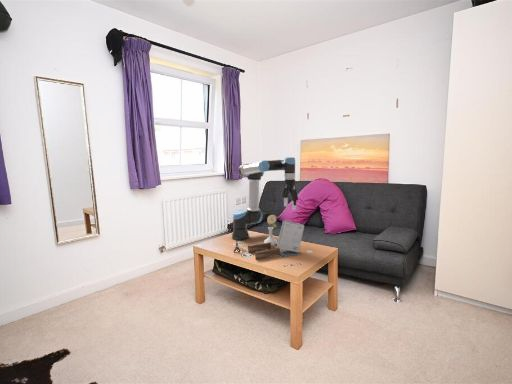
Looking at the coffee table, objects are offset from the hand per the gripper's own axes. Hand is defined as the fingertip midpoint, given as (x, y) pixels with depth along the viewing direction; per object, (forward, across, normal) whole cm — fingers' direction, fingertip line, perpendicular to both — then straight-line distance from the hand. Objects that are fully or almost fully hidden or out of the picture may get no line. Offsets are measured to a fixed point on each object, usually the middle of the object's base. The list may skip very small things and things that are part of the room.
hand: (289, 208), depth 198 cm
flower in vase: (+33, -20, -7) cm, 39 cm away
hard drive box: (+30, +3, -4) cm, 30 cm away
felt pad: (+33, +3, -3) cm, 33 cm away
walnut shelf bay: (+33, -2, -20) cm, 39 cm away
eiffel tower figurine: (+34, -14, -37) cm, 52 cm away
